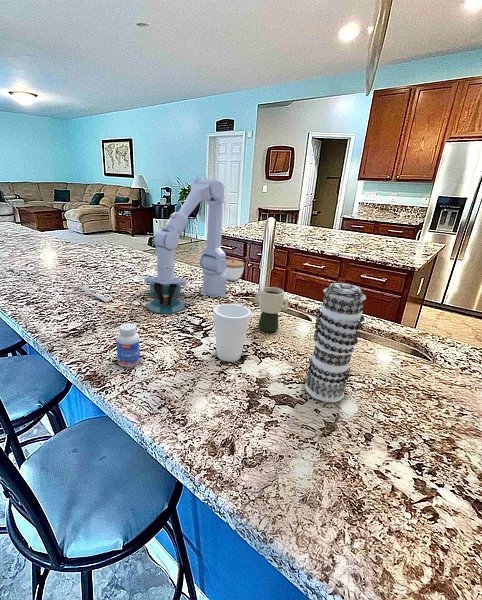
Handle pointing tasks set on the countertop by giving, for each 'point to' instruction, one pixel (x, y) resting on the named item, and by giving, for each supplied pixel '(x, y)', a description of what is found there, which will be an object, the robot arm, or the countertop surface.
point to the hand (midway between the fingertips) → (165, 303)
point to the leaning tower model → (334, 341)
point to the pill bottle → (127, 345)
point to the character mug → (270, 307)
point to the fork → (94, 294)
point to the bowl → (164, 290)
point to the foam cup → (230, 330)
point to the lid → (165, 306)
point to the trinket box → (234, 269)
